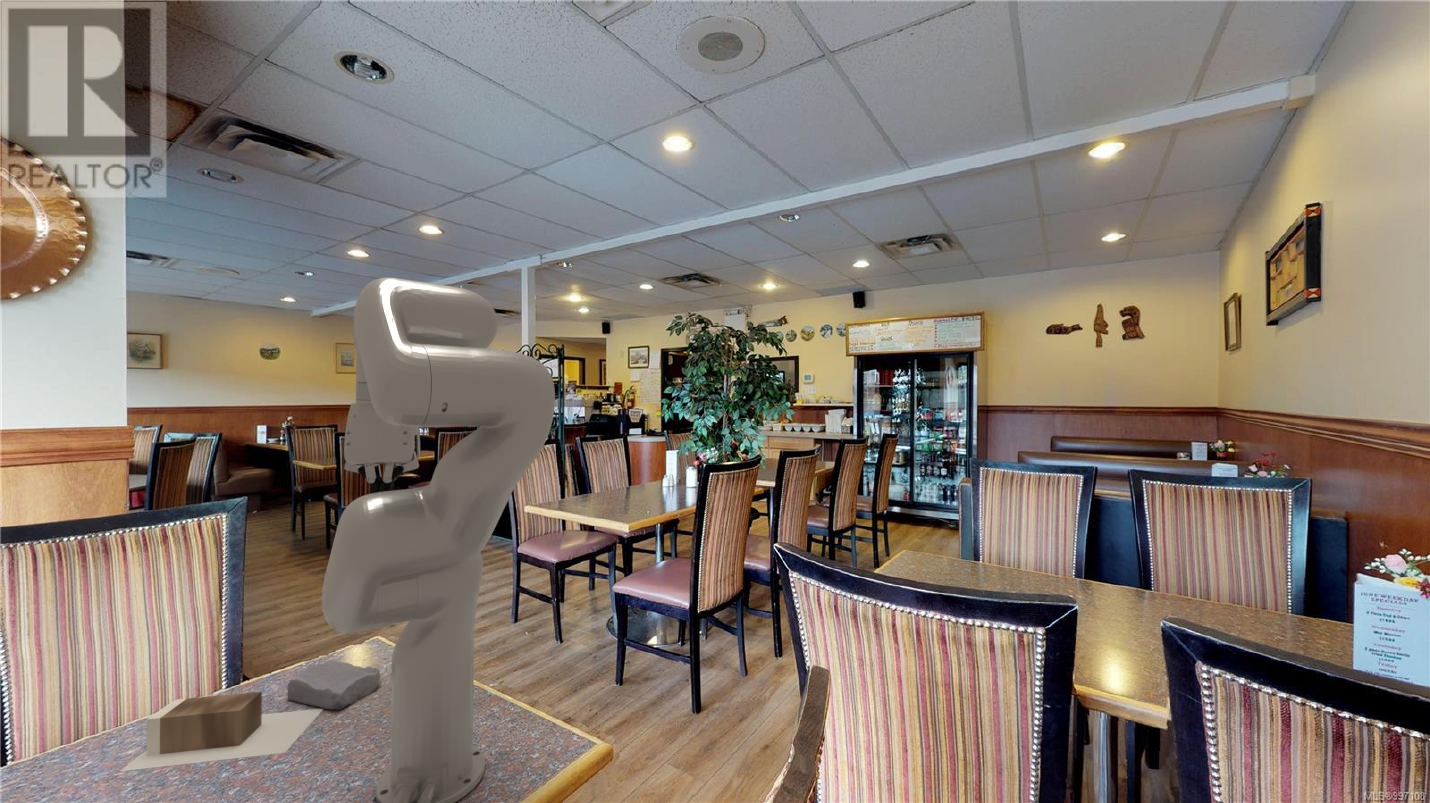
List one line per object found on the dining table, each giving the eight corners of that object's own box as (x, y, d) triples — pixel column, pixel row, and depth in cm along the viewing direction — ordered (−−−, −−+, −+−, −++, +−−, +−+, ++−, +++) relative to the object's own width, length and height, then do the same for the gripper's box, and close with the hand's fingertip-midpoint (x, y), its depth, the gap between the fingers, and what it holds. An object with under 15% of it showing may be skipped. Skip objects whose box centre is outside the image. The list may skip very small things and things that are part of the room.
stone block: (335, 685, 96) (277, 700, 87) (342, 656, 97) (286, 668, 88) (387, 698, 93) (332, 716, 83) (393, 668, 94) (340, 682, 84)
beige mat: (284, 755, 75) (284, 752, 75) (119, 774, 71) (119, 771, 71) (324, 710, 86) (324, 708, 86) (182, 724, 81) (182, 722, 81)
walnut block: (240, 710, 76) (146, 719, 74) (239, 745, 76) (146, 755, 74) (261, 691, 81) (174, 699, 79) (261, 724, 81) (174, 733, 79)
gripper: (438, 395, 94) (437, 500, 94) (342, 394, 91) (341, 503, 91) (425, 395, 87) (424, 509, 87) (320, 394, 83) (319, 512, 83)
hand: (382, 505), depth 89 cm, fingers closed
